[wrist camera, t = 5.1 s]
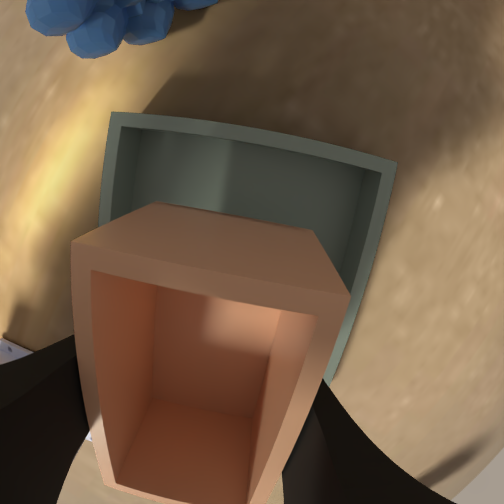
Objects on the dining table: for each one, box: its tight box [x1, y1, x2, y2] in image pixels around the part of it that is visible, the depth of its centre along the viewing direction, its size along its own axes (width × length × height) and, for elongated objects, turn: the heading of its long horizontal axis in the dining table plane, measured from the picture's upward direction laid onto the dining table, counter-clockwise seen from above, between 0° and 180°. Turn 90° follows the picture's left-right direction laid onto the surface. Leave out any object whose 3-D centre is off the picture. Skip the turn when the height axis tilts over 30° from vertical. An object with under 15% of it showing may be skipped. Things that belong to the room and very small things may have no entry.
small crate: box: [71, 201, 351, 504], centre depth 10 cm, size 6×9×6 cm, turn 169°
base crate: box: [98, 112, 398, 386], centre depth 15 cm, size 12×15×3 cm
